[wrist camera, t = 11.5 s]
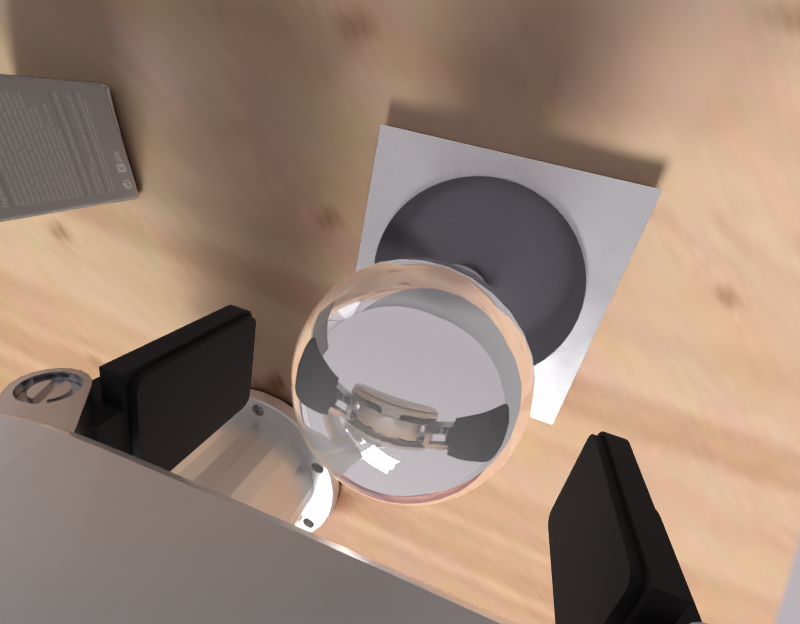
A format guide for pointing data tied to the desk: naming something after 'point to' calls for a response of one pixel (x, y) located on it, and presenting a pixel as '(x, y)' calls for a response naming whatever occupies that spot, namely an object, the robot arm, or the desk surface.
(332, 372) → the light bulb
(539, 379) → the duct plate
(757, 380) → the desk surface
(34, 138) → the skincare box
